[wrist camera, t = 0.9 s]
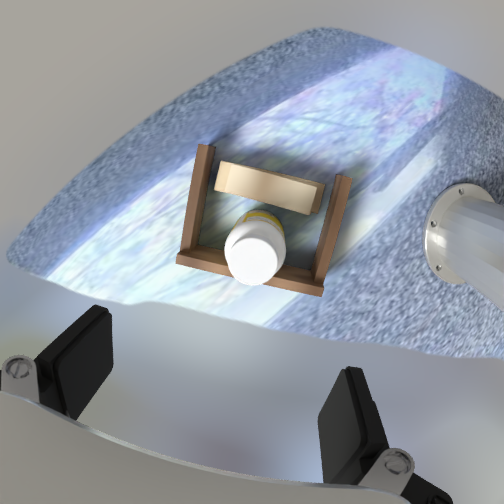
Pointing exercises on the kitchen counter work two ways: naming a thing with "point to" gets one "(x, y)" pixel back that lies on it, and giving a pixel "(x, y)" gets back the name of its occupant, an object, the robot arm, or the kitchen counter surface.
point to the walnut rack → (216, 258)
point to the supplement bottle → (255, 247)
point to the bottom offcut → (320, 185)
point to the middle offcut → (226, 166)
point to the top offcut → (270, 189)
